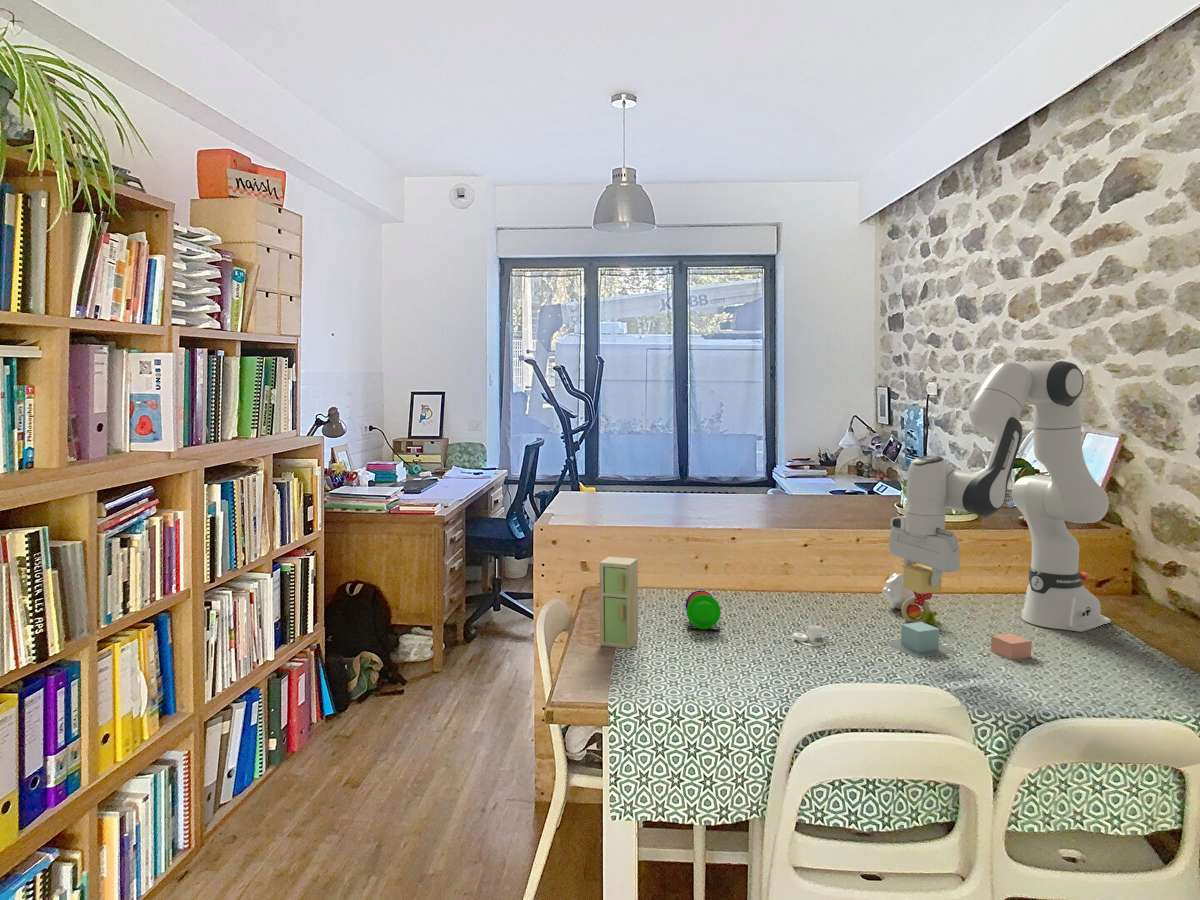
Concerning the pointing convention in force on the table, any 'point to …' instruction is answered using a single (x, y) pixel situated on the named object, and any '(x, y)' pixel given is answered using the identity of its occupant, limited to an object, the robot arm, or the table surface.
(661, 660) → the table surface
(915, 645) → the teal brick
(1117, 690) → the table surface
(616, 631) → the toy refrigerator
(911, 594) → the ghost figurine
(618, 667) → the table surface
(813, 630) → the teacup and saucer
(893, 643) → the build plate
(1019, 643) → the terracotta brick
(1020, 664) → the table surface
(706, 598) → the multicoloured piece
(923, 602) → the bird rattle
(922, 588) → the ochre brick
